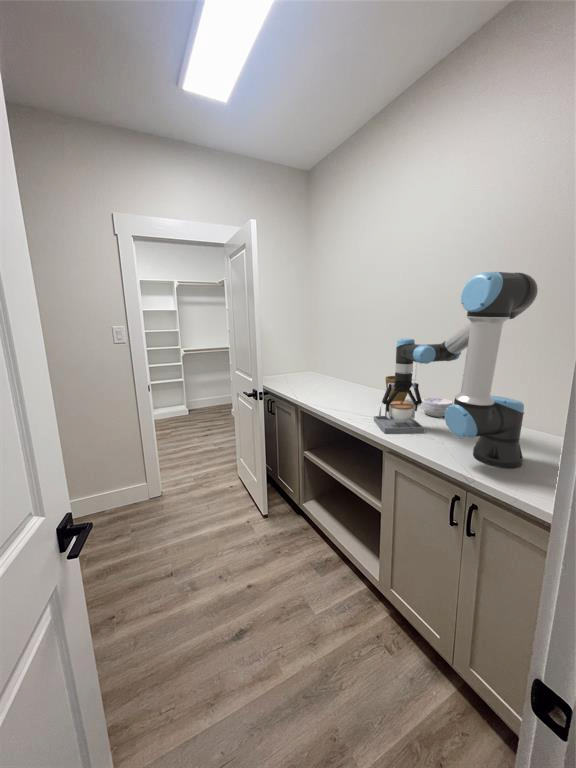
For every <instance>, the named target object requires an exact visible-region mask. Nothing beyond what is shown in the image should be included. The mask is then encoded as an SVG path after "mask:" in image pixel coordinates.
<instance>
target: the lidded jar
mask: <svg viewBox="0 0 576 768" xmlns="http://www.w3.org/2000/svg"><path fill="white" fill-rule="evenodd" d="M413 404H414V403H413V402H412V403H411V402H408V401H404V402H403V401H395V402H391V403H390V405H391V416H392V417H393V418H394V420H395V421H399V422H406V421H407V420H408V419H410V417H411V416H412V413H413V407H414V405H413Z"/></svg>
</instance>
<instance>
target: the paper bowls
mask: <svg viewBox="0 0 576 768" xmlns="http://www.w3.org/2000/svg"><path fill="white" fill-rule="evenodd" d="M421 401H422V403H421V404H420V409H422V410H423V411H424V412H425V414H426V415H428V416H431V417H435V418H436V417H437V418H441V417H442V418H444V417H445V410H446V409H447V408H448V407H449V406H450V405H453V404H454V401H452V400H450V399H448V398H440V397H424V398H423V397H422V398H421ZM443 416H444V417H443Z"/></svg>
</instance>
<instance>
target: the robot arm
mask: <svg viewBox="0 0 576 768" xmlns="http://www.w3.org/2000/svg"><path fill="white" fill-rule="evenodd" d="M538 291H539V290H538V284H537V281H536V280H535V279H534V278H533V277H532V276H531V275H529V274H527V273H524V272H507V271H506V272H503V271H488V272H480V273H477V274H476V275H473V276H472V277H471V278H470V280H468V281H467V282H466V284H465V286H464V287H463V289H462V291H461V295H460V304H461V305H462V307H463V309H464V310H465V311H467V312H466V318H467V319H468V320H469V321H468V322H467V323H465V324H464V325H462V326H461V327H460V328H459V329H458V330H457V331H456V332H454V333H453V334H451V336H449V337H448V338H447V339H446V340H444V341H443V342H441V343H431V344H429V343H428V344H418V343H417V344H416V343H415V341H416V340H415V339H414V338H403V337H402V338H398V340H397V341H396V347H395V349H396V350H395V365H394V366H395V373H394V376H395V382H394V384H390V383H388V384H387V388H386V391H385V393H384V395H383V398H382V400H381V404H383V405H385V404H386V411H387V418H388V419H391V405H390V403H391V402H392V401H393V399H394V398H395V396H396V395H397V394H398V393H399V392H407V393H408V394H407V395H408V396H409V398H410V400H411V401H412V404H413V405H414V407H413V413H412V416H411V417H412V418H413V419H414V420H416V419H415V417H416V412H417V411H418V406H419V405H421V403H422V397H421V394H420V391H419V383H417V382H414V383H413V382H412V381H413V373H412V372H413V371H414V370H413V369H414V367H413V366H414V363H419V364H424V365H427V364H430V363H435V362H451V361H457V360H458V359H459V358H460V356H461V354H462V351H464V350H465V349H466V353H465V354H466V355H465V360H464V361H465V362H464V369H463V374H462V383H461V387H460V388H461V389H460V392H459V393H458V394H456V395H455V396H454V401H453V405H450V406H449V407H448V408H447V409H446V410H445V416H444V422H445V425H446V426H447V427H448V430H449V431H450V432H451V433H452V434H453V435H454V436H456V437H458V438H462V439H468V438H469V439H472V438H477V437H478V439H477V442H475V443H476V444H475V446H474V447H473V451H472V456H473V457H474V459H476V460H477V461H479V462H481V463H484V464H486V465H489V466H493V467H496V468H497V467H498V468H503V469H515V468H516V469H517V468H521V467H522V465H523V462H524V457H523V452H522V450H521V443H520V439H521V432H522V425H523V419H524V414H525V411H524V410H525V404H524V403H523V402H522V401H520V400H518V399H514V398H509V397H504V396H498V395H491V394H492V393H491V392H492V386H493V381H494V376H495V370H496V364H497V358H498V354H499V353H498V352H499V347H500V341H501V336H502V332H503V331H502V330H503V326H504V323H505V322H507V321H508V320H514V319H515V318H516V317H518V316H519V315H521V314H522V313H524V312H525V311H526V310H527V309H528V308H530V307H531V305H532V304H534V302H535V301H536V298H537V296H538ZM393 386H394V387H395V389H394V391H393V393H392V394H391V396H390V397H389V394H390V392H391V389H392V388H393ZM411 388H413V390H414V394H413V393H412V390H411Z"/></svg>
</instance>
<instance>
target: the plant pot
mask: <svg viewBox="0 0 576 768" xmlns="http://www.w3.org/2000/svg"><path fill="white" fill-rule="evenodd" d="M384 379H385V389H387V384H388V383H390V384H394V382H395V375H388V376H385V378H384ZM394 389H395V387H394V386H393V388H392V389H391V392H390V394H389V397H390V396H391V394H392V393H393V391H394ZM407 395H408V393H407V392H399V393H398V394H397V395H396V396H395V398H394V399H393V401H392V402H395V401H403V402H406V401H405V400H406V398H407ZM389 397H388V398H389Z"/></svg>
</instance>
